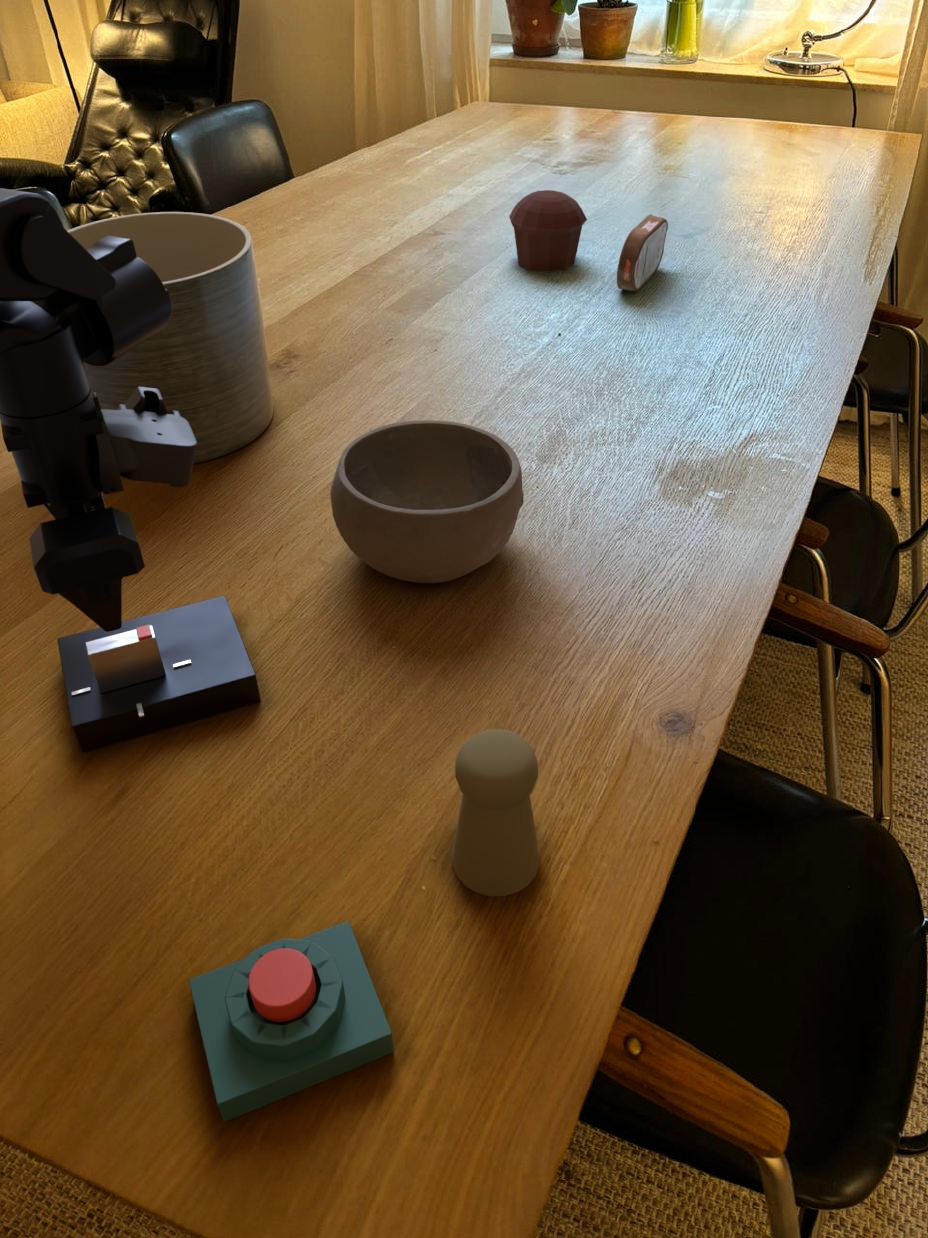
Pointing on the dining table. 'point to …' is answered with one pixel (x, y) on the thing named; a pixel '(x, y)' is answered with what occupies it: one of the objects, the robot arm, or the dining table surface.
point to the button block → (289, 1025)
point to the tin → (641, 253)
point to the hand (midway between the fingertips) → (104, 591)
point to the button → (282, 985)
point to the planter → (195, 328)
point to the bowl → (427, 498)
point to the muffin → (547, 230)
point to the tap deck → (191, 690)
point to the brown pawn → (496, 814)
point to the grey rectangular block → (125, 658)
